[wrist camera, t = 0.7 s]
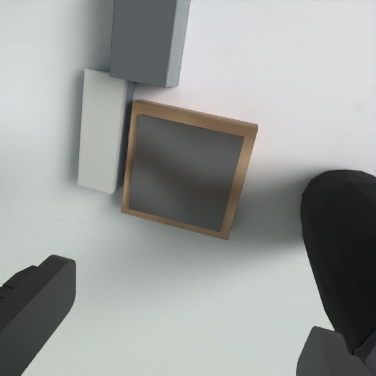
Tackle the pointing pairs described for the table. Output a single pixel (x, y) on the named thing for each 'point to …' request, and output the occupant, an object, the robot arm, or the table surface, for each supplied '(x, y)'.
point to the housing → (148, 40)
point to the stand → (186, 167)
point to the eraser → (104, 130)
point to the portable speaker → (344, 254)
